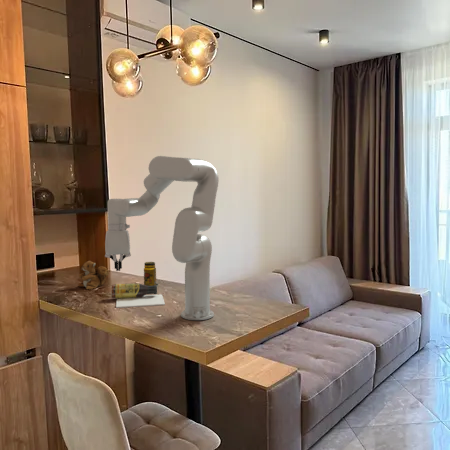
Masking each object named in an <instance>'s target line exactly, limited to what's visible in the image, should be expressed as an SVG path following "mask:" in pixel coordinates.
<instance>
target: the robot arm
mask: <svg viewBox="0 0 450 450" xmlns="http://www.w3.org/2000/svg"><path fill="white" fill-rule="evenodd" d="M148 173H149V174H148V175H147V176H146V177H145V178H144V180H143V186H144V188H145V189H146V191H145V192H144V193H143V194H142V195H141V196H140V197H131V198H109V199H108V200H107V231H106V232H105V242H104V243H105V245H104V246H105V247H104V248H105V255H104V257H105V258H108V259H111V260H112V261H113V262H114V269H115V271H116V272H120V271H121V269H122V268H123V265H122V264H123V260H125V259H126V258H129V257H131V256H132V254H131V243H130V233H129V231H128V230H127V229H129V228H130V227H131V225H130V224H127V218H129V217H131V218H132V217H139V216H143V215H146V214H147V213H148V212H150V211H151V210H152V209H153V208H154V207H155V206H157V204H158V202H159V199H160V198H161V194H162V192H164V191H165V190H166V189H167V188H168V187H169V186H170V185H171V184H172V183H173V182H175V181H176V182H182V183H183V182H189V183H190V182H192V183H197V186H196V187H195V190H194V191H193V194H192V203H191V206H190V207H185V208H183V209H181V210H180V211H179V212H178V213H177V216H176V219H175V222H174V230H173V235H172V246H171V250H172V251H171V252H172V255H173V258H174V259H175V260H176V261H177V262H179V263H182V264H185V267H184V305H185V306H184V310H182V311H181V313H180V317H181V318H183V319H184V320H189V321H205V320H208V319H211V318H213V317H214V316H215V313H214V311H213V310H212V309H211V303H210V302H211V299H210V297H211V293H210V291H211V288H210V287H211V286H210V285H211V284H210V283H211V282H210V281H211V280H210V279H211V277H210V275H211V274H210V270H211V257H212V252H213V245H212V242H211V240H210V239H209V237H208V236H206V235H205V234H202V233H203V232H206V231H208V230H209V229H210V228H211V227H212V225H213V219H214V212H215V207H216V197H217V192H218V189H219V188H218V187H219V180H220V179H219V173H218V172H217V169H216V168H215V167H214V165H213V164H212V163H210V162H209V161H207V160H205V159H204V160H203V159H200V158H190V157H189V158H188V157H175V156H166V155H157V156H155V157H153V158H152V159H151V160H150V161H149V164H148ZM200 233H201V234H200ZM117 255H119V259H118V258H117Z"/></svg>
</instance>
